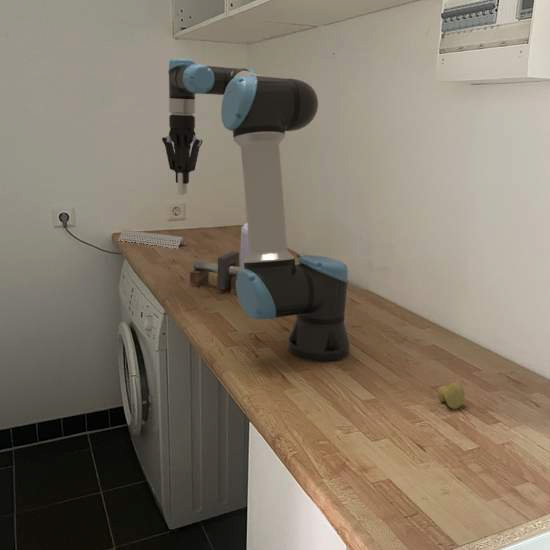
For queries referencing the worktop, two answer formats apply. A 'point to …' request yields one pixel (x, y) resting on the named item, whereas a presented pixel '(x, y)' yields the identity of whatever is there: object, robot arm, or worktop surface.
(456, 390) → the knob
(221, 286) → the collar
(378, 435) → the worktop surface
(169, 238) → the corner bead
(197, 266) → the pipe
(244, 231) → the soap bottle
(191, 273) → the saddles
